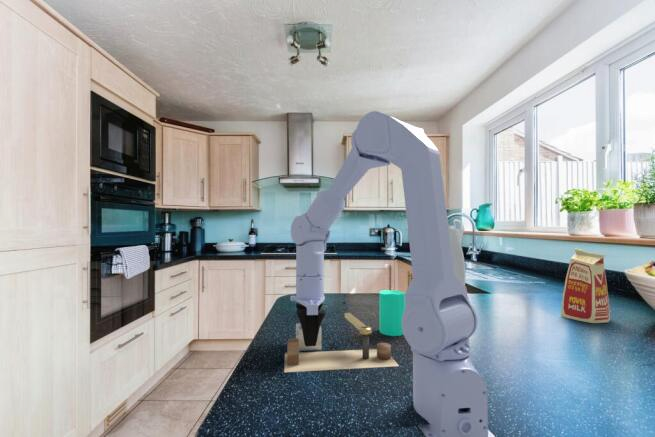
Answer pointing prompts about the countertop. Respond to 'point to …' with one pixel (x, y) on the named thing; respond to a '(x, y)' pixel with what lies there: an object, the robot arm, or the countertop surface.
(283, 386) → the countertop surface
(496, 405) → the countertop surface
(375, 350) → the wooden tray with blocks
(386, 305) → the candle
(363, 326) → the lever
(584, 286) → the milk carton
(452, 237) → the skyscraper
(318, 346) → the frosted white cube
